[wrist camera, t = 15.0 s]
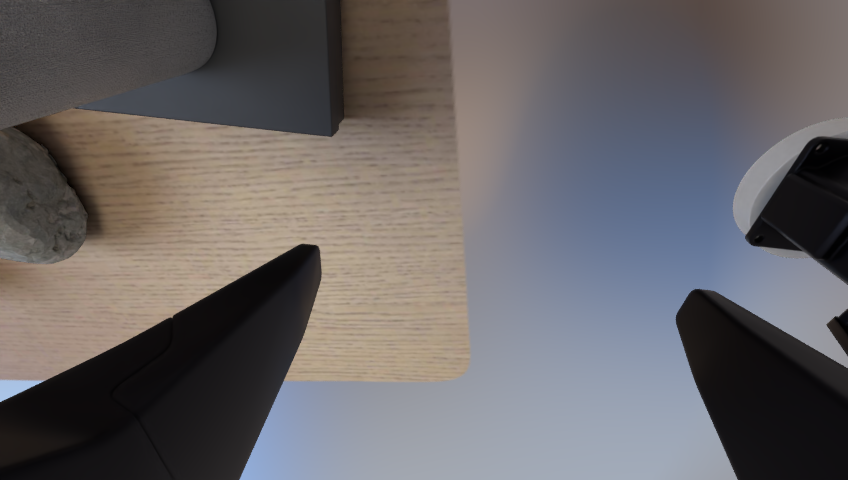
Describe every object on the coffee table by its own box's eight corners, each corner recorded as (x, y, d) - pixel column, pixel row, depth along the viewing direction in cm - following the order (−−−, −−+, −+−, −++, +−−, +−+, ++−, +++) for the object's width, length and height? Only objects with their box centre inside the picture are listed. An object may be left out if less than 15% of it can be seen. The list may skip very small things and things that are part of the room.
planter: (90, 14, 16) (-346, 41, 7) (129, -89, 14) (-410, -219, 5) (190, 94, 17) (-73, 196, 9) (238, 12, 15) (-42, 40, 7)
